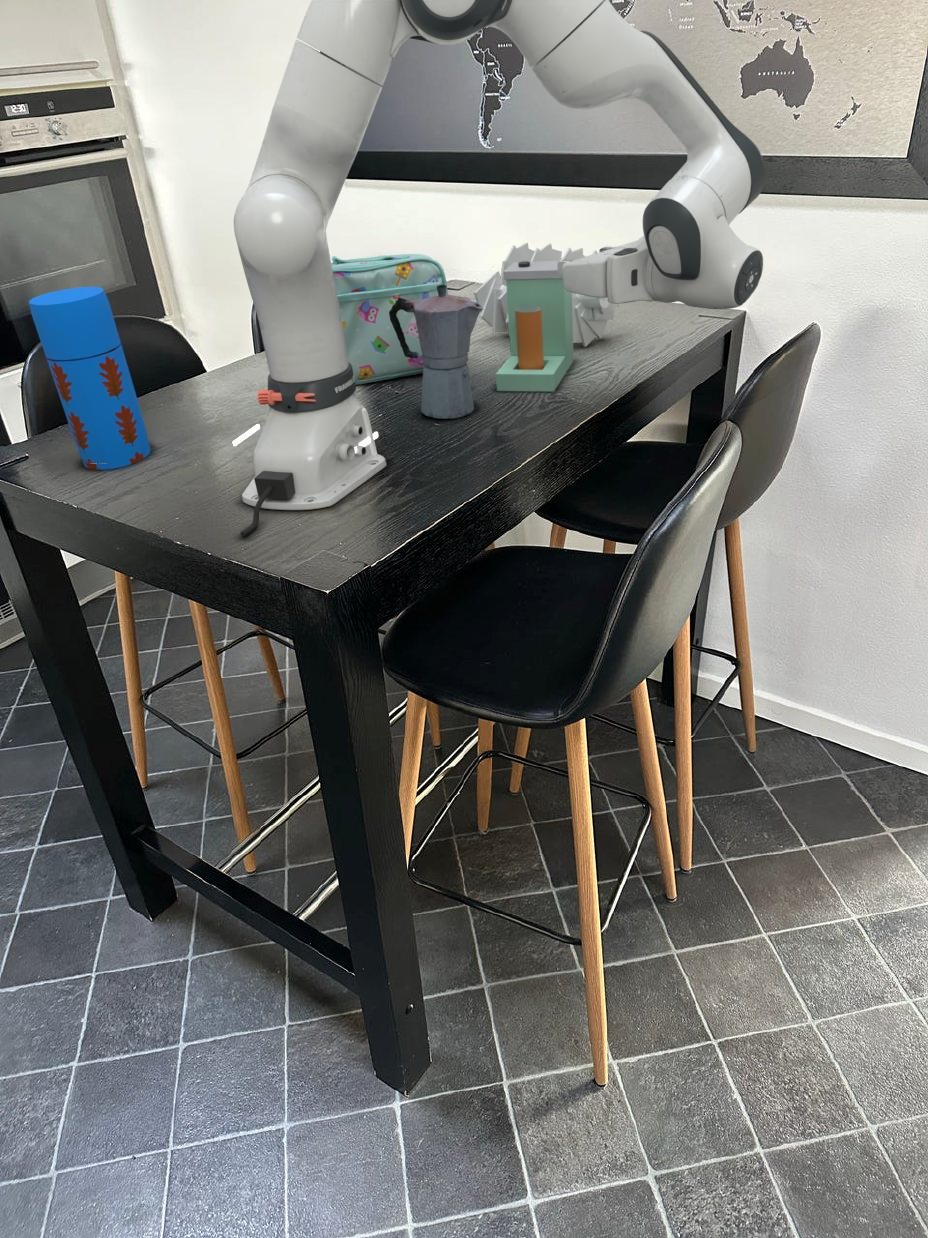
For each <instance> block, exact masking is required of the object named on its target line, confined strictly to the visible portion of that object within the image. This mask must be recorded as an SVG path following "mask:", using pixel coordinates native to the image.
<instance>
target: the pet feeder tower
mask: <svg viewBox="0 0 928 1238" xmlns="http://www.w3.org/2000/svg"><path fill="white" fill-rule="evenodd" d="M558 262H559V261H539V262H528V261H524V262H514V263H512V264H511V265H510V266H509V267H508V268H507V269H506V270H505V271H504V280H506V285H507V301H508V317H509V333H510V336H509V347H510V348H509V349H510V356H518V352H517V335H516V318H515V309H516V308H517V307H520V306H524V305H538V306H541V309H542V332H543V355H544V356H566V373H567V372H568V371H569V369H570V367H571V366H572V364H573V362H574V360H575V359H574V343H573V319H572V292H569V291H567V290H565V288H564V287H563V280H562V274H559V273H558V268H557V263H558Z"/></svg>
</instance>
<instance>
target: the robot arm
mask: <svg viewBox="0 0 928 1238" xmlns="http://www.w3.org/2000/svg"><path fill="white" fill-rule="evenodd" d="M485 28H495V29H497V30H499V31H501V32H502V33H503V34H504V35H506V36H507V37H508V38H509V39H510V41H512V42H513V43H514V45H515V46H516V48H518V50H519V52H520V53H521V55H522V56H523V58H524V59H525V61H526V62H527V64H528V65H529V67H530V68H531V70H532V71H533V73H534V74H535V76H536V78H537V79H538V80H539V82H540V84H541V85H542V87H543V88H544V89H545V91H546V92H547V93H548V94H549V95H550V96H551V98H553V99H554V101H556V102H557V103H559V104H560V105H561V106H563V107H566V108H568V109H573V110H579V111H580V110H581V111H587V110H595V109H600V108H604V107H607V106H609V105H612V104H615V103H618V102H621V101H624V100H637V101H641V102H642V103H645V104H646V105H648V106H649V107H650V108H651V109H652V110H653V111H654V112H655V114H657V116H658V117H659V118H660V119H661V121H663V123H664V124H665V125H666V126H667V127H668V128H669V130H670V131H671V132H672V133H673V135H674V136H675V137H676V138H677V139H678V141H680V142H681V144H682V145H683V146H684V148H685V150H686V155H687V156H686V157H687V160H686V162H685V163H684V164H683V165H682V166H681V167H680V168H679V170H678V171H677V172H676V173H675V174H674V175H673V177H672V178H670V179H669V180H668V181H667V182H666V183H665V184H664V186H663V187H662V188H661V189H660V190H659V191H658V192H657V193H656V194H655V196H654V197H653V198H652V199H651V200H650V201H649V202H648V204H647V205H646V207H645V208H644V211H643V214H642V231H643V235H641V237H639V238H638V239H637V240H634V241H631V242H628V243H624V244H622V245H619V246H610V245H609V246H608V245H607V246H602V247H601V248H599V251H598V252H599V253H598V252H597V253H596V254H593V255H592V254H589V255H587V256H586V255H585V256H586V257H583V258H580V259H577V260H567V259H565V260H562V261H559V262H558V263H557V268H558V273H559V274H562V280H563V287H564V288H565V290H567V291H569V292H572V293H576V294H581V295H585V296H590V297H597V298H607V297H608V302H609V303H613V304H618V305H619V304H627V303H633V302H638V301H639V302H649V303H650V302H658V303H665V304H672V303H676V302H679V303H682V304H684V305H685V306H688V307H691V308H692V307H693V308H698V309H708V310H731V309H735V308H740V307H741V306H743V305H744V304H745V303H746V302H747V301H748V300H749V299H750V298H751V296H752V295H753V294H754V292H755V291H756V289H757V287H758V286H759V283H760V280H761V277H762V275H763V270H764V256H763V253H762V251H761V250H760V249H759V248H756V247H754V246H752V245H748V244H747V243H745V242H744V241H743V240H741V239H740V237H739V236H737V235H736V233H735V232H734V230H733V229H732V228H731V227H730V225H731V224H732V222H733V221H734V220H735V219H736V218H737V217H738V215H740V214H741V213H742V212H743V211H744V210H746V208H748V207H749V206H750V205H751V204H752V203H753V202H755V200H756V199H758V197H759V196H760V195H761V193H762V191H763V189H764V187H765V182H766V169H765V163H764V158H763V156H762V155H763V154H762V153H761V151H760V149H759V148H758V146H757V145H756V143H755V142H754V141H753V140H752V139H751V138H749V136H747V135H746V134H745V133H744V132H742V130H741V129H739V128H738V127H736V125H734V123H732V122H731V121H730V120H729V118H728V117H727V116H725V114H724V113H723V112H722V110H721V109H720V108H719V107H718V105H716V103H715V102H714V101H713V99H712V98H711V97H710V96H709V94H708V93H707V92H706V91H705V89H704V88H703V87H702V86H701V85H700V84H699V82H698V81H697V80H696V78H695V77H694V76H693V75H692V73H691V72H690V71H689V70H688V69H687V67H686V66H685V65H684V64H683V62H681V59H679V57H678V56H676V54H675V53H674V52H673V50H672V49H671V48H669V47H668V46H667V45H666V43H664V41H663V40H661V39H660V38H659V37H658V36H656V35H655V34H654V33H652V32H650V31H647V30H639V29H637V28H635V27H634V26H633V25H631V24H630V23H629V22H628V21H627V20H625V19H624V17H622V15H621V14H620V13H619V12H618V11H617V10H616V8H615V6H613V5H612V3H611V1H610V0H311V1H310V2H309V5H308V7H307V9H306V12H305V14H304V17H303V20H302V22H301V25H300V27H299V30H298V32H297V35H296V39H295V41H294V44H293V47H292V51H291V53H290V56H289V59H288V61H287V65H286V68H285V71H284V74H283V77H282V80H281V83H280V86H279V89H278V92H277V95H276V97H275V100H274V103H273V106H272V109H271V113H270V117H269V120H268V123H267V126H266V129H265V134H264V136H263V139H262V142H261V147H260V148H259V152H258V155H257V158H256V162H255V165H254V167H253V170H252V174H251V176H250V180H249V183H248V185H247V188H246V190H245V191H244V194H243V195H242V197H241V198H240V200H238V202H237V205H236V208H235V211H234V215H233V232H234V236H235V237H234V238H235V242H236V245H237V249H238V254H239V257H240V261H241V265H242V269H243V272H244V276H245V278H246V283H247V286H248V289H249V290H248V291H249V293H250V297H251V300H252V304H253V306H254V309H255V313H256V316H257V321H258V324H259V329H260V334H261V338H262V344H263V349H264V353H265V357H266V363H267V368H268V372H269V374H268V376H267V386H266V389H259V390H258V392H257V395H256V398H257V399H256V400H257V401H258V404H259V405H260V406H266V405H268V407H269V410H268V413H267V416H266V419H265V421H264V424H263V427H262V429H261V426H260V423H257V424H255V425H254V426H253V427H251V428H250V429H248V430H246V432H244V433H243V434H241V435H240V436H239V437H237V438H235V439H234V440H233V441H232V446H233V447H236V446H238V445H239V444H240V443H242V442H243V441H244V440H246V439H247V438H249V437H250V436H251V435H253V434H255V433H256V432H257V431H259V430H260V429H261V432H260V434H259V438H258V441H257V443H256V446H255V449H254V451H253V456H252V461H253V470H254V477H253V478H252V479H251V481H250V482H249V484H248V485H247V487H246V488H245V490H244V491H243V492H242V494H241V499H242V502H243V503H245V504H246V505H249V506H252V507H254V508H253V514H252V515H253V517H252V522H251V524H250V525H249V526H248V527H246V528H244V529H242V530H241V531H240V536H241V537H243V538H244V537H246V536H247V535H249V534H250V533H252V532H253V531H254V530H255V529H256V528H257V526H258V524H259V519H260V511H261V509H267V510H282V511H309V510H316V509H323V508H327V507H331V506H333V505H335V504H336V503H337V502H339V501H341V499H343V498H344V497H346V496H347V495H349V494H350V493H351V492H353V491H354V490H356V489H357V488H358V487H360V486H361V485H362V484H364V483H365V482H367V481H368V480H369V479H371V478H372V477H373V476H375V475H377V474H378V473H379V472H380V471H382V470H383V469H384V468H385V467H387V460H386V458H385V457H384V456H383V455H381V454H378V451H377V447H376V443H375V440H376V439H378V438H379V432H378V431H374V432H373V429H372V425H371V419H370V417H369V413H368V410H367V409H366V407H364V405H363V404H362V403H361V401H360V400H359V399H358V396H357V395H356V393H355V392H356V390H357V386H356V385H355V375H354V373H353V369H352V365H351V364H350V363H349V362H348V357H347V350H346V344H345V338H344V332H343V325H342V319H341V313H340V307H339V302H338V297H337V292H336V287H335V282H334V276H333V271H332V266H331V263H332V259H331V255H330V249H329V244H328V238H327V229H328V228H327V227H328V225H329V221H330V218H331V216H332V214H333V211H334V209H335V207H336V204H337V201H338V199H339V196H340V194H341V191H342V190H343V187H344V185H345V182H346V180H347V177H348V175H349V172H350V170H351V168H352V166H353V164H354V162H355V158H356V156H357V155H358V152H359V149H360V147H361V144H362V141H363V139H364V136H365V133H366V131H367V129H368V126H369V123H370V120H371V118H372V115H373V113H374V111H375V107H376V105H377V102H378V100H379V97H380V95H381V92H382V90H383V87H384V84H385V82H386V79H387V76H388V74H389V71H390V68H391V66H392V63H393V61H394V59H395V56H396V55H397V53H398V51H399V49H400V48H401V46H403V44H404V43H405V41H407V40H408V39H411V40H416V41H423V42H427V43H431V44H435V45H441V46H454V45H458V44H461V43H465V42H466V41H468V40H470V39H471V38H472V37H474V36H476V34H477V33H479V32H480V31H481V30H483V29H485ZM382 86H383V87H382Z"/></svg>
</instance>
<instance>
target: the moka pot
mask: <svg viewBox="0 0 928 1238" xmlns="http://www.w3.org/2000/svg"><path fill="white" fill-rule="evenodd" d="M446 289H447V290H448V285H447V286H446V285H438V286H437V291H438V296H432V297H427V298H425V299H422V300H417V299H410V300H407V299H403V298H398V300H397V301H396V302H395V305H393V306H392V309H391V310H390V311H389V316H390V321H391V323H392V325H393V328H394V330H395V332H396V335H397V337H398V340H399V341H400V345H401V347H402V350H403V352H404V355H405V356H406V357H410V358H416V359H417V358H418V356H419V354H418V353H417V352H411V351H410V350H409V347H408V345H407V343H406V342H405V341H406V340H405V337H404V333H403V331H402V328H401V326H400V322H399V319H398V318H397V312H398V311H399V310H404V311H405V312H409V313H414V315H415V319H416V325H417V330H418V335H419V341H420V346H421V351H422V358H423V364H424V367H423V373H422V385H421V399H420V412H421V413H422V414H423V415H425V416H427V417H430V418H431V419H439V420H440V419H444V420H448V419H449V420H450V419H451V420H452V419H457V418H462V417H465V416H467V415H470V414H471V413H472V412H473V411H474V410H475V405H474V398H473V391H472V386H471V380H470V373H469V366H468V360H469V357H468V356H469V355H468V353H470V347H471V346H470V345H471V336H472V332H473V331H474V328H475V325H476V322H477V320H478V318H479V316H480V314H481V312H480V311H482V310H483V307H482V305H480V304H478V303H477V301H473V300H471V298H470V297H466V296H460V295H454V294H448V295H446Z"/></svg>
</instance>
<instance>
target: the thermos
mask: <svg viewBox="0 0 928 1238" xmlns="http://www.w3.org/2000/svg"><path fill="white" fill-rule="evenodd" d="M28 304H29V308H30V309H29V310H30V314H31V316H32V320H33V323H34V325H35V329H36V331H37V334H38V337H39V340H40V343H41V344H40V345H41V346H42V349H43V352H44V355H45V358H46V361H47V364H48V367H49V370H50V372H51V376H52V379H53V382H54V385H55V387H56V390H57V393H58V396H59V400H60V402H61V405H62V408H63V411H64V415H65V417H66V421H67V423H68V426H69V429H70V432H71V435H72V438H73V440H74V443H75V446H76V448H77V451H78V453H79V455H80V458H81V460H82V463H83V465H84V467H85V468H87V469H90V470H94V471H105V470H114V469H119V468H123V467H127V466H130V465H133V464H136V463H138V462H140V461H142V460H144V459H145V458H147V457H148V456H149V455H150V453H151V445H150V441H149V436H148V433H147V427H146V424H145V421H144V417H143V414H142V410H141V408H140V404H139V400H138V397H137V394H136V390H135V387H134V383H133V379H132V377H131V372H130V369H129V365H128V362H127V359H126V356H125V352H124V349H123V345H122V342H121V339H120V335H119V331H118V329H117V325H116V322H115V318H114V314H113V311H112V308H111V304H110V301H109V298H108V297H107V294H106V292H105V289H104V288H102V287H99V286H82V287H71V288H66V289H65V288H64V289H59V290H55V291H50V292H47V293H43V294H40V295H37V296H35V297H33V298H31V299H30V300H28ZM83 460H84V461H86V462H84V461H83ZM87 462H88V463H87ZM89 462H90V463H97V464H90V463H89ZM99 463H100V464H99ZM101 463H107V464H101Z"/></svg>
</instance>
